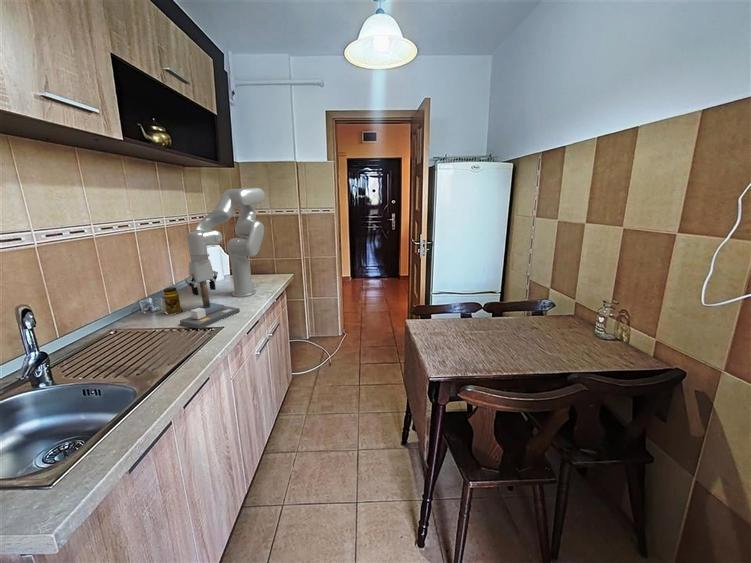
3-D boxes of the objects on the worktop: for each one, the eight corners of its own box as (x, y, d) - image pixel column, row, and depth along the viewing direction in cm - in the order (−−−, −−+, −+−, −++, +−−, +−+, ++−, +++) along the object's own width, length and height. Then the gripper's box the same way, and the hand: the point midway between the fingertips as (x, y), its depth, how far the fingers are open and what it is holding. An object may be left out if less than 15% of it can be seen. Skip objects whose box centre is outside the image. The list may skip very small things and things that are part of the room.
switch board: (221, 309, 166) (221, 305, 165) (239, 312, 161) (239, 308, 160) (180, 324, 146) (179, 320, 146) (199, 328, 142) (198, 324, 141)
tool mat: (210, 303, 175) (210, 302, 174) (224, 306, 170) (224, 304, 170) (189, 310, 164) (189, 309, 164) (203, 313, 160) (203, 312, 160)
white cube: (199, 315, 151) (198, 307, 150) (205, 316, 150) (204, 308, 149) (191, 318, 148) (190, 310, 147) (197, 319, 146) (196, 311, 145)
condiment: (170, 315, 158) (166, 291, 155) (161, 312, 162) (156, 288, 159) (185, 311, 164) (181, 287, 161) (176, 308, 168) (172, 285, 165)
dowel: (207, 306, 169) (203, 279, 165) (211, 306, 168) (207, 279, 164) (202, 307, 166) (197, 280, 163) (206, 308, 165) (202, 281, 161)
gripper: (209, 254, 170) (214, 287, 174) (177, 260, 155) (183, 296, 159) (219, 255, 167) (224, 288, 171) (188, 261, 152) (194, 298, 156)
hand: (204, 292), depth 165 cm, fingers open, 9 cm apart
